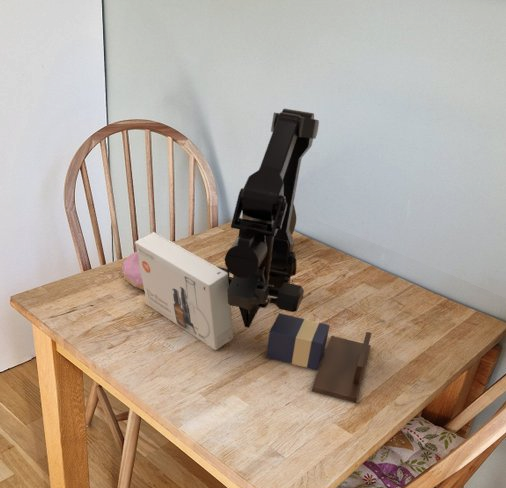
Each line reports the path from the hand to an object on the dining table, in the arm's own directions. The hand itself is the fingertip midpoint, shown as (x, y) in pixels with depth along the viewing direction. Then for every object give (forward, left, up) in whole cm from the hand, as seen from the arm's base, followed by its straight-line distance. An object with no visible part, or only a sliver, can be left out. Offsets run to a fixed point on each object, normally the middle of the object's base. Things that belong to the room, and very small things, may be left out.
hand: (247, 326), depth 118 cm
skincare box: (-13, +1, -3) cm, 13 cm away
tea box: (+10, 0, 0) cm, 10 cm away
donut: (-26, +15, -4) cm, 30 cm away
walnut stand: (+19, -1, -4) cm, 20 cm away
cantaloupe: (-9, +44, -4) cm, 45 cm away
